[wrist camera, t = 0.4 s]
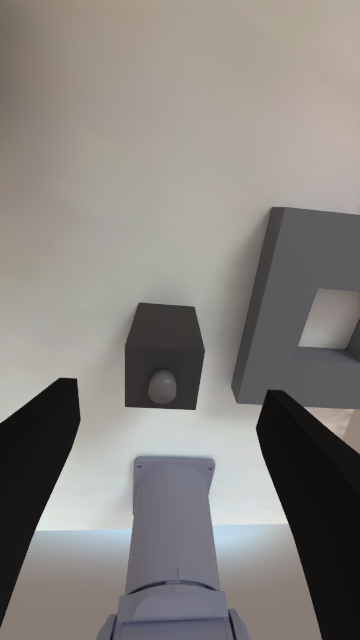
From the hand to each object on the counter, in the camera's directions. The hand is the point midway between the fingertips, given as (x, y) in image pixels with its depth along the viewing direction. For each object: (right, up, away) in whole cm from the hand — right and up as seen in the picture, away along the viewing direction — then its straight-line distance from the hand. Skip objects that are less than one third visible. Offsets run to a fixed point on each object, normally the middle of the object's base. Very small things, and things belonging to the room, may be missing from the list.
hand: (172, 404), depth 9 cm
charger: (-1, +3, +9) cm, 10 cm away
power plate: (+11, +3, +9) cm, 15 cm away
